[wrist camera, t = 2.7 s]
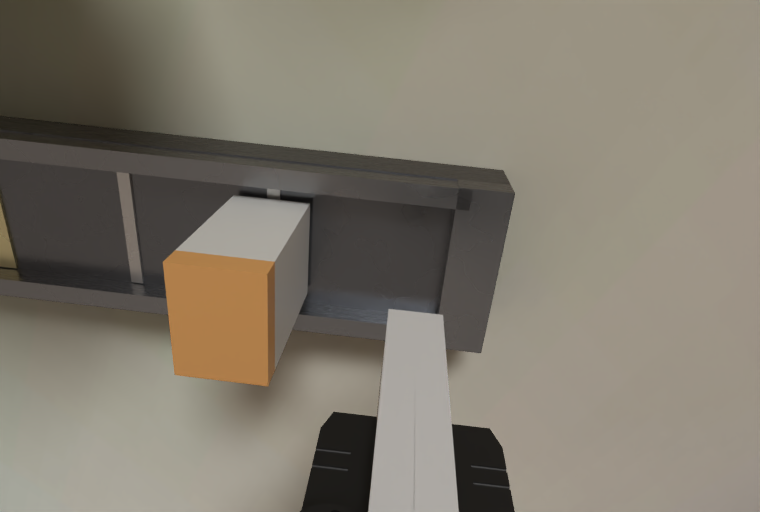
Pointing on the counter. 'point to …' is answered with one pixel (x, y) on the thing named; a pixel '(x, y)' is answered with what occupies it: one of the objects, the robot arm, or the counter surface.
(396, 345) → the robot arm
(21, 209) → the tray
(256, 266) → the fader tab
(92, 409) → the counter surface
